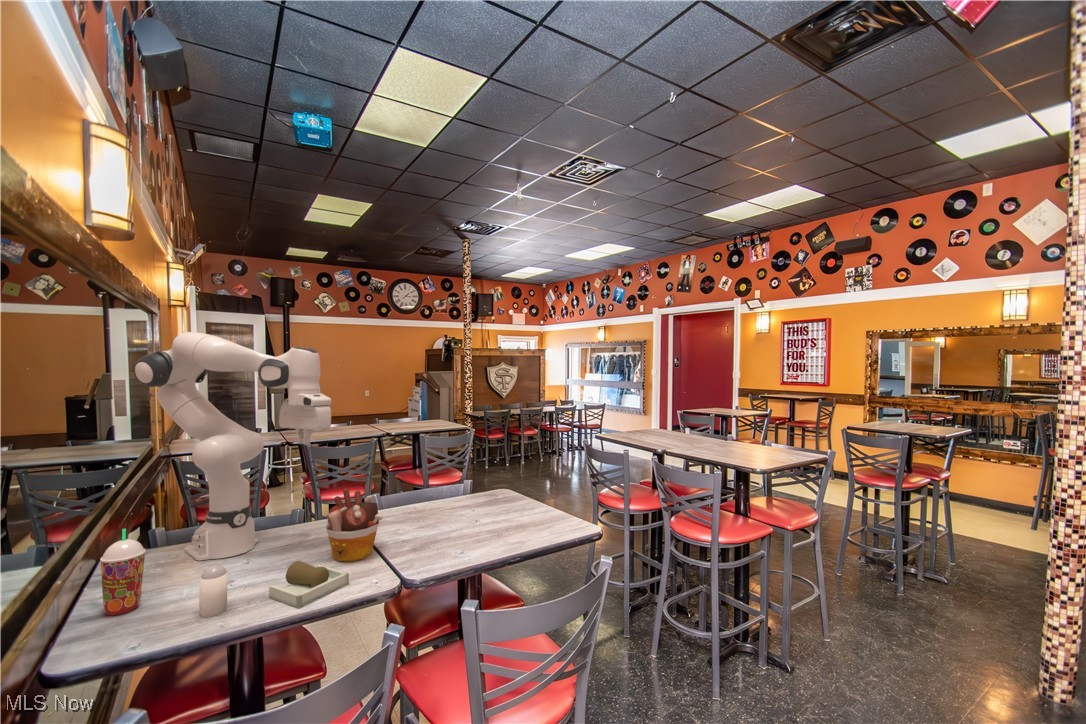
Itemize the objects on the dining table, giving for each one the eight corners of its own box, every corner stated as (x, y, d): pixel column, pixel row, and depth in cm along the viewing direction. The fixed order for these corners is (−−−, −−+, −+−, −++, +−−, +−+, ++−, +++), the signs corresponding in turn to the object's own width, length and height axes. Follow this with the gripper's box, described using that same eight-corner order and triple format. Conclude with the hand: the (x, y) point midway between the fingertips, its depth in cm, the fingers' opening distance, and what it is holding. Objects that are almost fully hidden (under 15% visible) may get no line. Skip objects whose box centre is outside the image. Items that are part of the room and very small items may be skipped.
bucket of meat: (387, 559, 145) (388, 496, 145) (331, 572, 135) (332, 504, 136) (370, 540, 161) (370, 483, 162) (319, 551, 151) (319, 490, 152)
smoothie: (91, 621, 108) (93, 536, 109) (108, 605, 116) (110, 526, 116) (136, 614, 112) (138, 531, 112) (149, 599, 119) (151, 521, 120)
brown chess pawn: (282, 583, 124) (310, 589, 120) (291, 559, 127) (319, 564, 123) (300, 585, 129) (328, 590, 125) (308, 562, 132) (335, 567, 128)
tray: (269, 597, 120) (269, 586, 120) (320, 575, 133) (320, 564, 133) (298, 608, 114) (298, 596, 114) (348, 584, 128) (348, 573, 128)
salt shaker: (194, 614, 112) (195, 567, 112) (219, 603, 117) (220, 559, 117) (207, 619, 109) (207, 572, 109) (231, 609, 114) (232, 563, 114)
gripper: (273, 398, 144) (273, 442, 143) (316, 400, 134) (316, 447, 134) (292, 397, 149) (292, 440, 149) (335, 399, 140) (334, 444, 140)
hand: (303, 443), depth 142 cm, fingers closed
